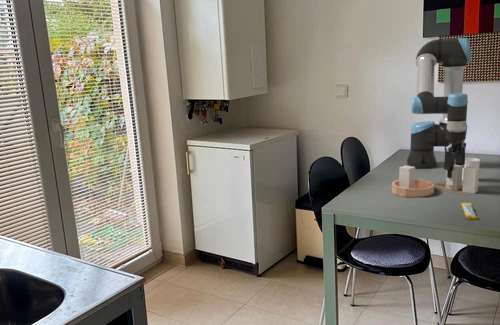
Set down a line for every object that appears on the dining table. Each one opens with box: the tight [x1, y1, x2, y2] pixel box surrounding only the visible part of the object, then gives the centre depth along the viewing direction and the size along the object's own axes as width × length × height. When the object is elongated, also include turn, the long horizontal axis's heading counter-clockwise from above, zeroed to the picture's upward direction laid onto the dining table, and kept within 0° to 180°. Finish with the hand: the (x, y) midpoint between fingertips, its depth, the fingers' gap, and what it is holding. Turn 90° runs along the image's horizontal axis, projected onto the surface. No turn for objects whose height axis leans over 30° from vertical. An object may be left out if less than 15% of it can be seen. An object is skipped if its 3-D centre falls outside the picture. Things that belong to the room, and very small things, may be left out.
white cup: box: [462, 157, 481, 181], centre depth 210 cm, size 8×8×10 cm
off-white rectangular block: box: [445, 163, 463, 190], centre depth 197 cm, size 4×5×10 cm
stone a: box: [398, 164, 416, 189], centre depth 199 cm, size 4×5×10 cm
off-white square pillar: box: [462, 167, 480, 194], centre depth 192 cm, size 4×5×10 cm
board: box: [434, 181, 483, 196], centre depth 198 cm, size 12×19×1 cm, turn 38°
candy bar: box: [459, 202, 479, 220], centre depth 170 cm, size 17×4×2 cm, turn 162°
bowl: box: [391, 178, 435, 199], centre depth 197 cm, size 17×17×4 cm
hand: (453, 183), depth 198 cm, fingers open, 5 cm apart
